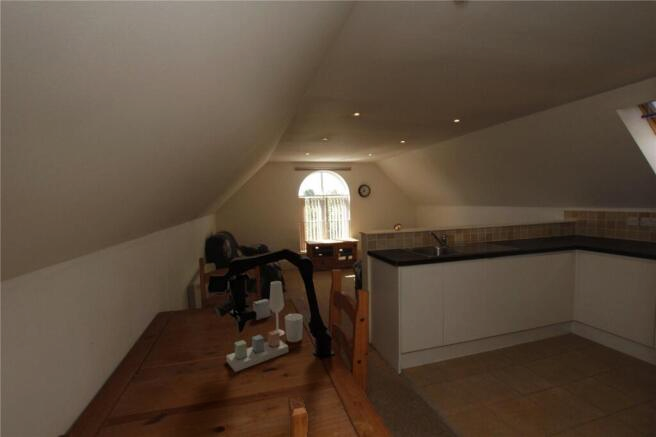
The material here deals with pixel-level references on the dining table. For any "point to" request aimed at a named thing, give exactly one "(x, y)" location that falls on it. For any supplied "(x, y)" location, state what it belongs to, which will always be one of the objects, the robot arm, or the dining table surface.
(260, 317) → the medicine box
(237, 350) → the pale green block
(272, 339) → the terracotta button
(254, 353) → the button board
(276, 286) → the champagne flute
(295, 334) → the white cup
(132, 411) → the dining table surface
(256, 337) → the grey rectangular block
